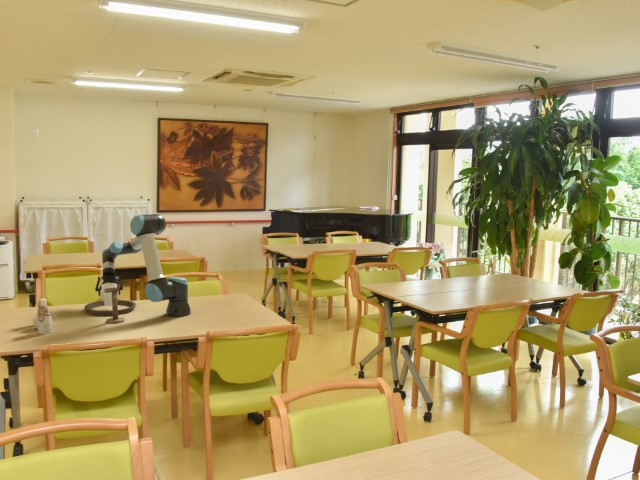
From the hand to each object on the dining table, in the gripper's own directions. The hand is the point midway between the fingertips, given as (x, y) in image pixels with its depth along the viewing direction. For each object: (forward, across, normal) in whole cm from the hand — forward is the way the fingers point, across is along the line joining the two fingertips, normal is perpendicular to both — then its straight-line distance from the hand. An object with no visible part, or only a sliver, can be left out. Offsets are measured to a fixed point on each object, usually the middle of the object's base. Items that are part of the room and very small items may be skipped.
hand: (109, 299), depth 371 cm
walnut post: (+24, -3, +14) cm, 28 cm away
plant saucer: (+4, -1, -8) cm, 9 cm away
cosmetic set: (+27, +36, +16) cm, 48 cm away
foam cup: (+1, 0, -5) cm, 5 cm away
